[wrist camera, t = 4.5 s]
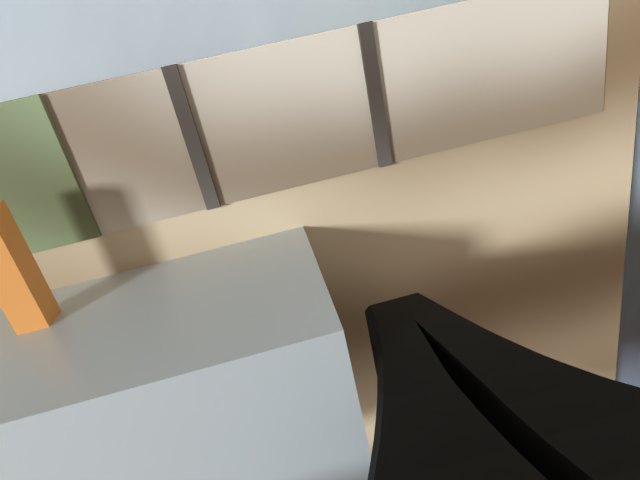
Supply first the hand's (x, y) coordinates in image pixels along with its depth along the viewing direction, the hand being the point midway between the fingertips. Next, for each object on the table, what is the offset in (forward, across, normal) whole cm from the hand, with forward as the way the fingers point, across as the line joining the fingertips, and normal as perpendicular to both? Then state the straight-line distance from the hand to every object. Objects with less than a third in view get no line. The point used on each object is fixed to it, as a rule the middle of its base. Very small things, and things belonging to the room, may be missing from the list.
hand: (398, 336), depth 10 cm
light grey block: (+2, +7, -1) cm, 7 cm away
